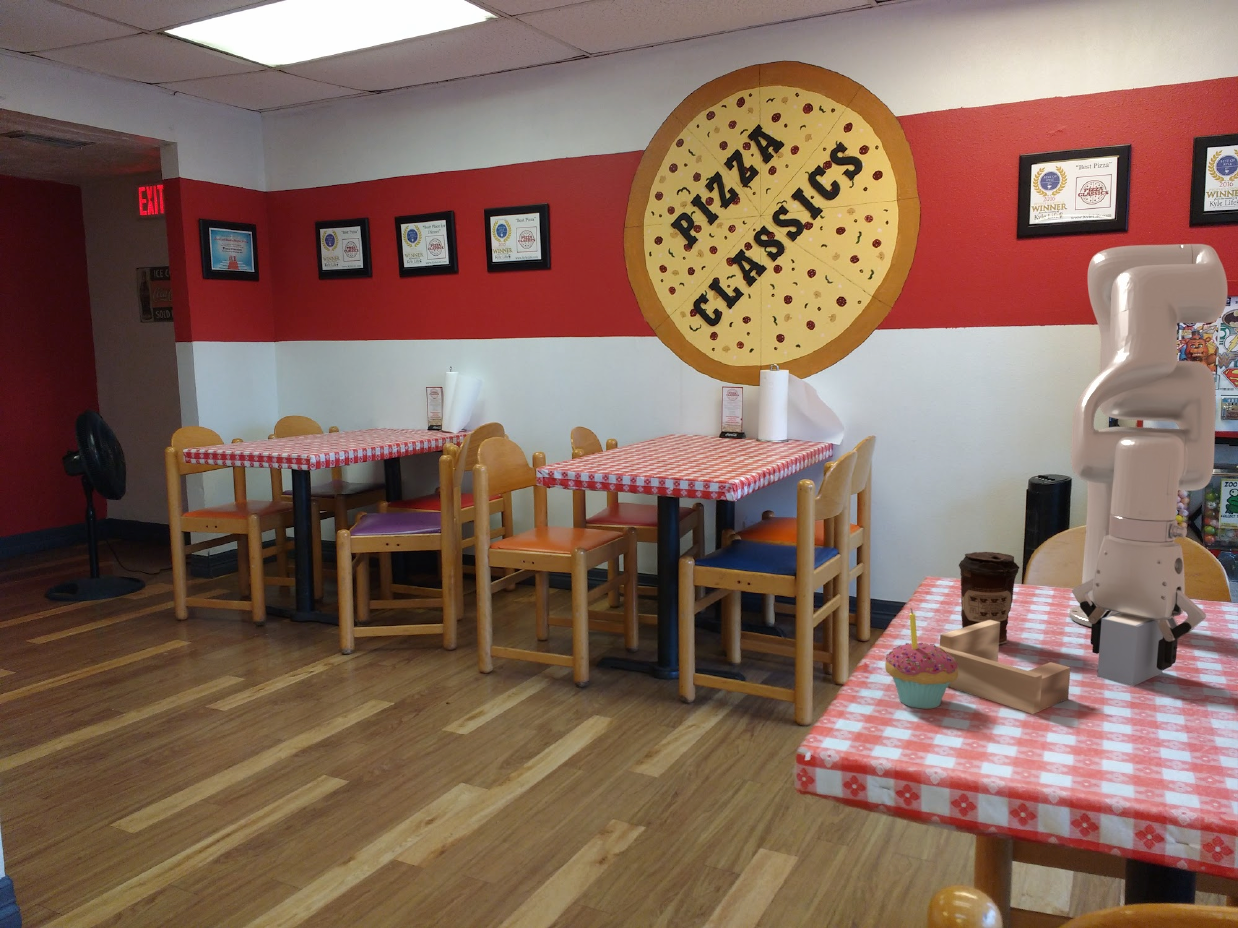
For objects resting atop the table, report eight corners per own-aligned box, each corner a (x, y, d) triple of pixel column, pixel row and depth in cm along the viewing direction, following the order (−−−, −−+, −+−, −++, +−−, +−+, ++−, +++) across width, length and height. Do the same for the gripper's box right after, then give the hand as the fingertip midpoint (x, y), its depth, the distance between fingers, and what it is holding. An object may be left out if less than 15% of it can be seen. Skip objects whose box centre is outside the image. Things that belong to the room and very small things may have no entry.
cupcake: (919, 719, 107) (924, 618, 106) (868, 695, 114) (872, 601, 113) (971, 707, 111) (977, 610, 110) (918, 684, 118) (923, 593, 117)
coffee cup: (1020, 651, 133) (1026, 563, 132) (960, 646, 135) (965, 559, 133) (1007, 633, 142) (1013, 550, 140) (951, 629, 143) (955, 547, 142)
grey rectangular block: (1127, 663, 128) (1132, 607, 127) (1162, 672, 125) (1167, 615, 124) (1097, 676, 123) (1101, 618, 122) (1132, 686, 119) (1137, 626, 118)
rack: (987, 661, 128) (989, 619, 127) (1087, 690, 117) (1090, 644, 117) (930, 681, 120) (933, 636, 119) (1033, 713, 109) (1036, 664, 108)
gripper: (1227, 537, 117) (1214, 671, 119) (1088, 518, 131) (1079, 638, 133) (1203, 544, 112) (1191, 683, 114) (1062, 523, 126) (1053, 648, 128)
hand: (1131, 658), depth 123 cm, fingers open, 7 cm apart
